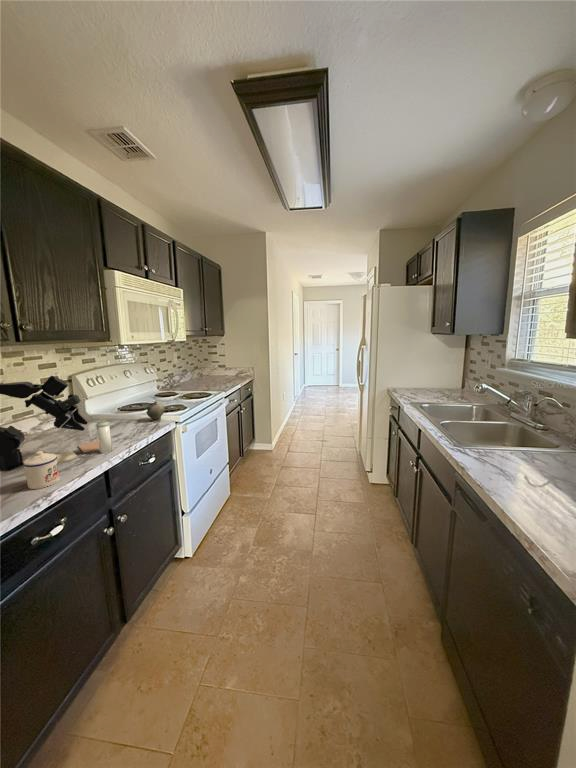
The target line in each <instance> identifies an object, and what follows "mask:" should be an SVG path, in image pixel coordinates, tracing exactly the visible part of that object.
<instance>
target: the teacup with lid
mask: <svg viewBox="0 0 576 768" xmlns="http://www.w3.org/2000/svg"><path fill="white" fill-rule="evenodd" d="M56 455H57V454H56V453H47V452H44V451H43V450H39V451H36V452H35V455H32V456H30V457H29V458H26V459H25V460H23V462H24V463H23V465H22V466H23V467H24V472H25V478H26V483H27V487H28V488H29V489H30V490H31V489H32V490H38V489H44V487H45V488H48V487H51V486H52V485H53V486H54V485H55V484H57V482H59V481H60V478H61V477H60V473H59V466H58V465H59V464H58V463H57V456H56ZM50 485H51V486H50ZM47 486H48V487H47Z"/></svg>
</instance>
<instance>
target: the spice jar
mask: <svg viewBox="0 0 576 768" xmlns="http://www.w3.org/2000/svg"><path fill="white" fill-rule="evenodd" d="M95 425H96V429H97V438H98V441H99V447H100V449H99V452H100V454H108V453H111V452H112V451H113V444H112V438H111V429H110V427H111V426H110V421H107V420H106V421H100V422H96V424H95Z"/></svg>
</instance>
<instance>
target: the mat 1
mask: <svg viewBox="0 0 576 768" xmlns="http://www.w3.org/2000/svg"><path fill="white" fill-rule="evenodd" d="M55 455H56V456H57V464H58V463H63V462H67V461H70V460H74V459H78V458H79V457H78V455H77V453H75V452H74V450H70V451H65V452H62V453H58V454H55Z"/></svg>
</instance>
